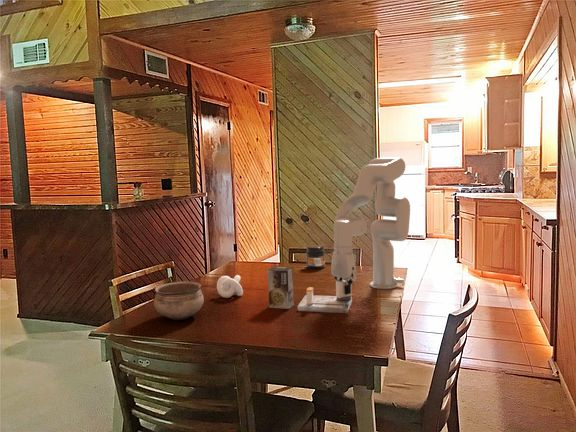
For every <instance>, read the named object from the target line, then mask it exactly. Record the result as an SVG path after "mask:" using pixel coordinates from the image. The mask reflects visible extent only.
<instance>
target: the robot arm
mask: <svg viewBox="0 0 576 432" xmlns="http://www.w3.org/2000/svg"><path fill="white" fill-rule="evenodd" d="M361 167H362V168H361V169H360V171H359V175H358V178H357V181H356V185H355V187H354V190H353V193H352V194H351V195H350V196H348V197H347V199H345V200H344V201H343V202H342V204H341V205H340V206H339V208H337V211H336V215H335V219H334V222H333V246H332V247H333V250H334V251H333V252H332V256H331V265H330V266H331V267H330V268H331V269H330V271H331V276H332V277H334V280H335V282H336V281H343V280H345V284H346V285H345V286H344V287H345V294H346V295H347V294H350V293H351V284H353V283H354V282H356V281H357V280H358V277H357V275H356V272H357V271H356V270H357V269H356V259H355V255H354V253H353V251H354V250H353V237H357V236H359V237H360V236H363V235H365V233H366V232H367V230H368V223H367V221H366V220H365V219H364V218H361V217H350V216H349V215H350V213H352V211H354V210H356V209H357V208H359V207H362V206H364V205H367V204H369V203H370V202H371V201H372V200H373V198H374V195H375V190H376V195H375V196H376V197H375V213H376V214H377V215H378V216H381V217H388V218H396V219H385V218H383V219H381V218H380V219H379V218H378V219H376V220H373V221H372V222H371V225H370V235H371V240H372V241H371V242H372V275H373V277H372V281H371V282H370V283H369V286H370V287H371V288H374V289H379V290H388V289H389V290H391V289H394V288H397V287H398V284H404V278H400V277H398V278H397V277H395V273H394V272H395V269H394V267H395V265H394V264H395V263H394V262H395V259H394V256H395V255H394V254H395V253H394V251H395V250H394V246H393V244H392V243H391V242H392V241H394V242H404V241H406V240H407V238H408V236H409V231H410V220H411V219H410V218H411V205H410V204H411V203H410V201H409V199H408V198H407V197H406V196H401V195H399V196H397V195H396V184H395V181H396V180H397V179H399V178H400V177H402V176H403V174H404V173H405V171H406V163H405V161H404V158H401V157H376V158H371V159H370V160H369V162H368V164H364V165H363V166H361ZM348 280H349V281H348Z"/></svg>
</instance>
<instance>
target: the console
mask: <svg viewBox="0 0 576 432" xmlns="http://www.w3.org/2000/svg"><path fill="white" fill-rule="evenodd" d="M313 296H314V301H313V303H312V304H307V294H305V295H304V297H303V298H302V300H301V301H299V304H298V305H297V312H310V313H311V312H314V313H315V312H316V313H333V314H334V313H335V314H339V313H340V314H348V313H349V310H350V307H351V305H352V302H353V297H352V296H351V299H349V300H339V299H337V297H336V295H314V294H313Z"/></svg>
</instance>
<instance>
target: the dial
mask: <svg viewBox="0 0 576 432" xmlns="http://www.w3.org/2000/svg"><path fill="white" fill-rule="evenodd" d="M348 281H349V279H348ZM352 284H353V283H352ZM352 284H351V293H350V294H347V295H346V294H345V287H344V286H345V285H346V284H345V279H343V281H336V280H335V296H336V297H337V299H339V300H349V299H351V297H352V293H353V292H352V291H353V290H352V289H353V288H352V287H353V286H352Z"/></svg>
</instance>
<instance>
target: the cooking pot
mask: <svg viewBox="0 0 576 432" xmlns="http://www.w3.org/2000/svg"><path fill="white" fill-rule="evenodd" d="M201 287H202V284H201V283H199V282H195V281H174V282H169V283H168V282H167V283H164V284H161V285H158V286H157V287H155V292H156V293H155V296H154V301H153V303H154V304H153V305H154V308H155V310H156V312H157V313H159V314H160V315H161V316H163V317H166V318H168V319H170V320H173V321H184V320H187V319H188V318H190V317H192V316H193V315H195V314H196V313H197V312H199V310H200V309H201V308H202V307H203V304H204V302H205V300H204V299H205V298H204V294H203V291H202V289H201Z"/></svg>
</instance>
